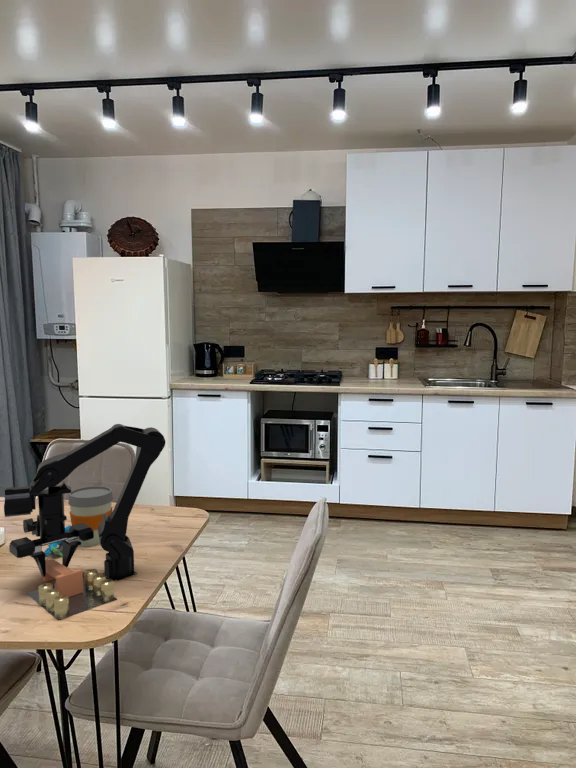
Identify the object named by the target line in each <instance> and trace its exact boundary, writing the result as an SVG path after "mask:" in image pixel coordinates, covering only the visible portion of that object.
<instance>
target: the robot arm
mask: <svg viewBox="0 0 576 768" xmlns="http://www.w3.org/2000/svg"><path fill="white" fill-rule="evenodd" d="M119 443H125V444H128V445H130V446H134V447H136V449H135V457H134V460H133V463H132V466H131V468H130V470H129V472H128V475H127V478H126V480H125V482H124V484H123V487H122V489H121V491H120V494H119V495H118V498H117V501H116V502H115V503H116V504H115V506H114V508H113V509H112V512H111V514H110V515H109V516H107V515H105V514H103V517H102V521H101V524H100V525H99V526H98V527H97V529H98V535H99V540H100V546H101V549H103V551H105V552H107V553H105V560H104V561H103V564H104V566H103V567H104V572H103V573H102V574H104V575H105V578H108V579H111V580H113V581H114V582H119V581H121V580H123V579H127V578H129V577H132V576H136V575H138V572H136V571H135V554H134V553H135V550H134V548H133V547H134V546H133V544H132V542H131V539H130V537H129V536H127V535H126V534H127V530H128V524H129V518H130V515H131V513H132V510H133V507H134V505H135V503H136V501H137V498H138V495H139V494H140V491H141V488H142V486H143V484H144V481H145V479H146V476H147V475H148V472H149V471H150V470H149V469H150V468H151V466H152V465H153V464H154V463H155V462H156V461H157V459H158V458H159V456H160V455H161V453H162V451H163V450H164V448H165V447H166V439H165V437H164V435H163V433H161V432H160V430H158V428H156V427H151V426H150V427H146V428H140V427H136V426H127V425H124V424H121V423H115V424H113V425H112V426H111V427H110V428H109V429H107V430H105V431H103V432H102V433H100V434H97V435H96V436H95V437H93V438H91V439H89V440H88V441H86V442H84V443H83V444H81V445H79V446H77V447H76V448H74V449H71V450H70V451H68V452H67V451H66V452H63V453H59V454H57V455H54V456H52V457H49V458H46V459H44V460H43V461H41V462H40V463H39V464H38V465H37V466H38V467H37V470H36V475H35V476H34V478H33V480H31V481H30V482H31V483H30V484H29V486H18V487H13V486H11V487H10V486H9V487H5V488H4V503H3V512H4V517H5V518H10V517H19V516H28V515H32V514H31V513H33V512H34V511H35V510H36V507H37V506H36V497H37V499H38V501H37V502H38V503H37V504H38V514H37V516H36V520H34V519H33V518H32V517H31V518H26V519H24V520H22V529H23V532H24V533H25V534H27V533H30V532H31V535H32V536H36V537H39V538H35V539H33V540H31V539H30V538H28V537H27V536H26V537H21V538H16V539H12V540H11V541H10V542H9V545H8V548H9V549H8V550H9V553H10V554H12V556H14V557H15V558H17V559H21V558H25V557H31V558H33V560H34V562H35V564H36V565H37V568H38V570H39V572H40V575H41V577H42V578H43V577H45V575H46V562H45V560H46V556H45V551H43V547H44V546H45V547H46V546H47V545H48V546H49V544H52V543H56V542H60V541H61V543H62V552H61V553H62V557H61V558H62V560H61V562H62V563H61V564H62V565H64V566H66V567H67V568H69V565H70V563H71V561H72V559H73V556H74V554H75V552H76V551H77V549H78V548H79V547H80V546H79V545H81V542H80V541H79V539H80V540H82V541H86V540H89V539H93V538H94V531H93V529H92V528H91V527H89V526H88V525H86V524H84V523H81V524H77V525H73V526H72V525H70V528H69V531H67V532H65V527H66V525H65V523H66V522H65V521H67V520H68V519H67V515H65V502H64V501H65V500H64V499H65V498H64V497H65V496H64V495H65V494H69V493H71V491H72V486H71V485H68V484H67V483H66V482H65V481H64V480H65V479H66V478H68V476H70V475H71V474H72V473H73V471H75V470H76V469H77V468H78V467H79V466H81V465H82V464H85V463H86V462H89V460H91V459H94V458H95V457H96V456H98V455H100V454H101V453H103V452H105V451H106V450H109V449H110V448H112V447H113V446H115V445H117V444H119ZM61 482H62V483H61ZM60 483H61V484H60Z"/></svg>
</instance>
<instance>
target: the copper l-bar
mask: <svg viewBox="0 0 576 768" xmlns="http://www.w3.org/2000/svg"><path fill="white" fill-rule="evenodd" d="M45 562H46V575H45V577H43V576H42V581H43V582H45V583H47V582H49V581H52V580H55V582H56V589H59V590H60V595H67V596H68V597H70V596H73V595H76V594H80V593H83V592H84V591H83V576H84V575H83V574H84V573H83V570H82V568H81V569H80V568H77V569H75V570H72V569H71V568H69V567H66V566H64V565H62V563H60V562H58V561H57V560H55V559H54V558H49V559H45Z"/></svg>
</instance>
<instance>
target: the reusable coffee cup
mask: <svg viewBox="0 0 576 768" xmlns="http://www.w3.org/2000/svg"><path fill="white" fill-rule="evenodd" d="M113 500H114V497H113V489H112V488H111V487H108V486H103V485H102V486H99V485H97V486H96V485H94V486H84V487H80V488H75V489H73V490H71V493H68V500H67V502H68V503H67V504H68V505H69V508H70V510H69V517H70V522H71V526H73V525H77V524H81V523H84V524H86V525H88V526H89V527H91V528H92V529H93V531H94V538H93V539H89V540H86V541H82V540H80V539H79V541H80V542H81V545H79V546H78V547H84V548H85V547H96V546H99V545H100V546H101V544H100V540H99V535H98V529H97V527H98V526H99V525H100V524H101V521H102V517H103V514H105V515H107V516H109V515H110V514H111V512H112V511H113V507H112V504H113V503H112V502H113Z"/></svg>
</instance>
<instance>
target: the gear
mask: <svg viewBox="0 0 576 768" xmlns="http://www.w3.org/2000/svg"><path fill="white" fill-rule="evenodd" d="M70 526H71V524H68V526H65V532H67V531H69V528H70ZM57 547H58V548H57ZM62 550H63V548H62V543H61V541H60V542H56V543H52V544H49V545H48V546H47V548H45V549H44V552H45V557H47V556H49V555H50V554H51V553H52V552H53V553H54V555H55V556H56V555H59V556H60V557H61V558H62V552H61V551H62Z"/></svg>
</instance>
